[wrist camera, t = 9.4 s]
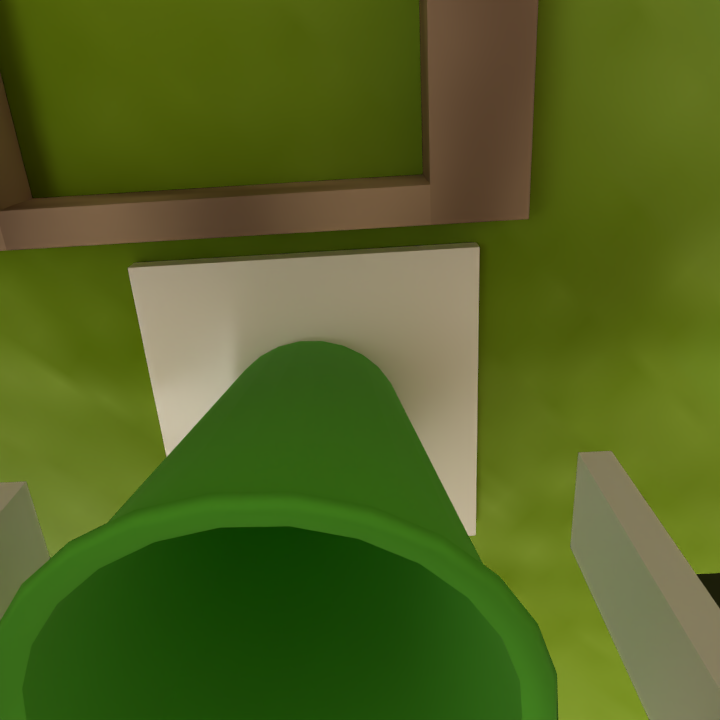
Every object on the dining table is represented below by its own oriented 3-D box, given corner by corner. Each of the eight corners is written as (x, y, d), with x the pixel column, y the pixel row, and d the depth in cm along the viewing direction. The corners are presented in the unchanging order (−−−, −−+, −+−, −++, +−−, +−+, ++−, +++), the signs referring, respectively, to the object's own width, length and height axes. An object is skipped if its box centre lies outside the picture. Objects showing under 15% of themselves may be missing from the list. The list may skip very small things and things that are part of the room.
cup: (518, 420, 20) (676, 752, 10) (311, 574, 23) (275, 966, 13) (320, 206, 18) (269, 370, 8) (110, 406, 20) (-140, 732, 10)
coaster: (190, 538, 23) (185, 549, 22) (134, 262, 19) (127, 267, 18) (472, 524, 23) (476, 535, 22) (475, 242, 19) (479, 246, 18)
